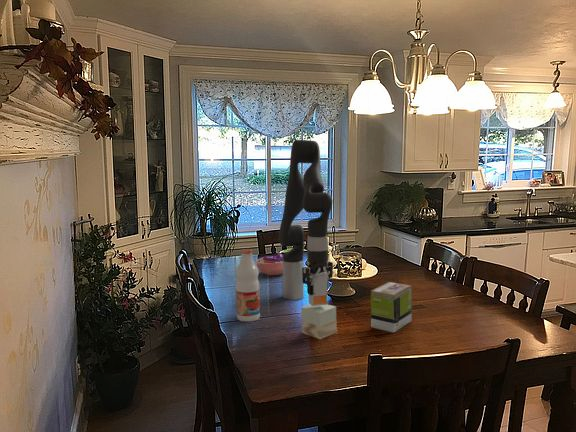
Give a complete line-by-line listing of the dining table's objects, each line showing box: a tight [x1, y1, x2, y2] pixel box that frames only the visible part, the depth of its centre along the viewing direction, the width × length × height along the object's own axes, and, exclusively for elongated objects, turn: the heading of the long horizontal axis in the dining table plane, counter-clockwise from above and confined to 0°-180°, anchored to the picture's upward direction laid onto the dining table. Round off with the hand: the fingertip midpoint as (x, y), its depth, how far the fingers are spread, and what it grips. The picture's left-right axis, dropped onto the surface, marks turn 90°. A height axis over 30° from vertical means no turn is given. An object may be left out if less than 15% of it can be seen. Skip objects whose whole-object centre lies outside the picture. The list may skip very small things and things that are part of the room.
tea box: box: [370, 281, 413, 333], centre depth 184 cm, size 15×10×15 cm
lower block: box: [301, 319, 338, 340], centre depth 178 cm, size 9×9×5 cm
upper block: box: [301, 303, 337, 326], centre depth 177 cm, size 9×9×5 cm
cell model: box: [255, 252, 283, 276], centre depth 262 cm, size 17×20×11 cm
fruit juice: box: [235, 248, 261, 323], centre depth 193 cm, size 9×9×28 cm
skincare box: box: [308, 272, 329, 306], centre depth 176 cm, size 6×4×12 cm
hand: (317, 292), depth 176 cm, fingers closed on skincare box, 7 cm apart
